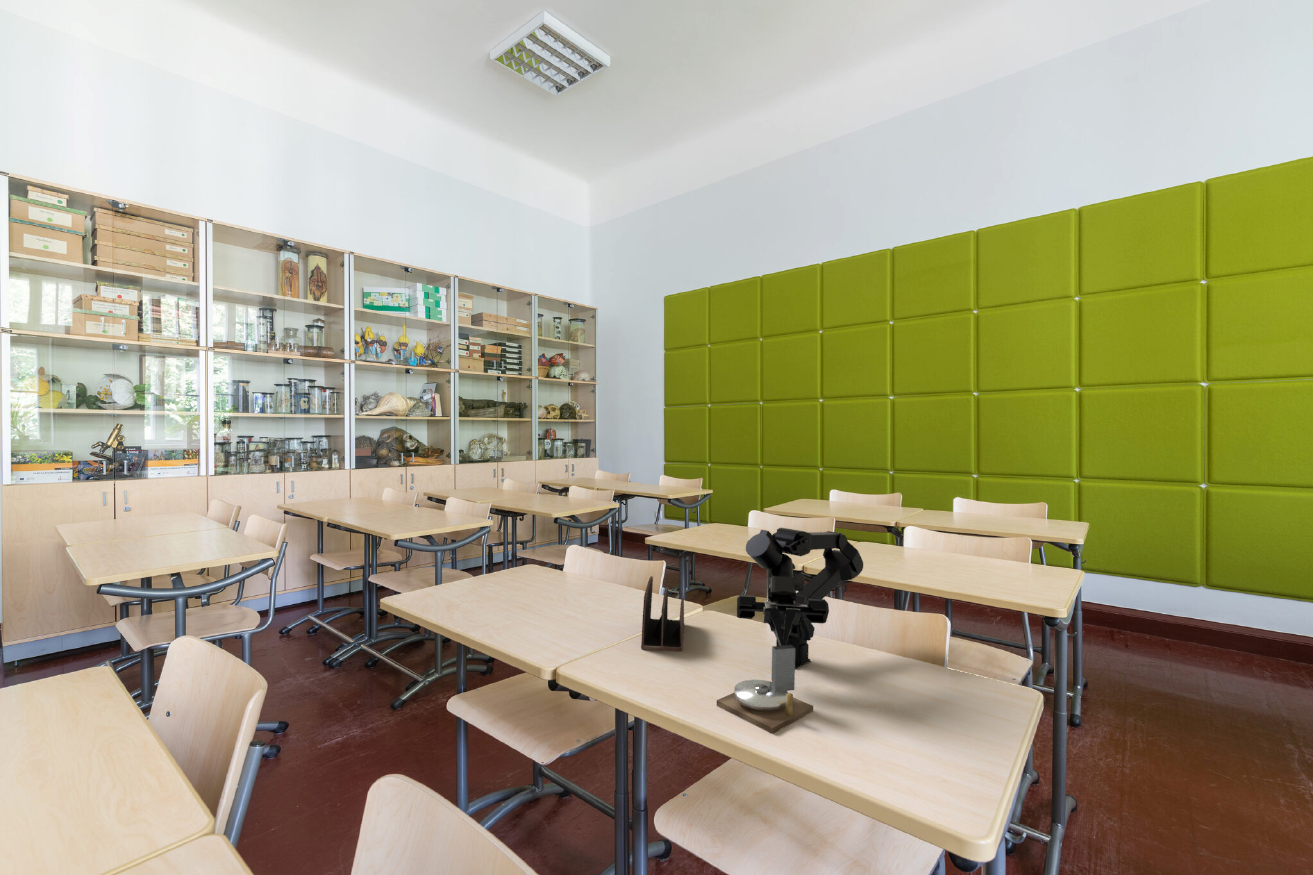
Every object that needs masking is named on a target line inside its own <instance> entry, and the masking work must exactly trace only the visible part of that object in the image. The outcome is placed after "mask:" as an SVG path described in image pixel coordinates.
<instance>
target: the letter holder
mask: <svg viewBox="0 0 1313 875" xmlns="http://www.w3.org/2000/svg"><path fill="white" fill-rule="evenodd" d="M653 581H654V577H653V576H651V575H650V577H649V578H648V581H647V584H646V588H645V591H644V596H643V606H642V607H643V608H642V609H643V610H642V624H641V625H642V626H641V641H640V642H641V645H640V649H641V650H644V651H646V650H647V651H664V652H665V651H667V652H683V644H684V643H683V642H684V629H685V628H684V627H685V603H684V602H685V598H684V596H681V600H680V609H679V610H680V611H679V612H680V613H679V619H669V618H668V609H669V608H668V607H669V606H668V603H669V602H668V601H669V587H665V589H664V593H663V600H662V606H661V614H660V617H659V618H658V619H657V618H652V602H653V601H652V600H653V599H652V598H653V583H654V582H653Z"/></svg>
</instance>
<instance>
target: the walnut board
mask: <svg viewBox="0 0 1313 875" xmlns="http://www.w3.org/2000/svg"><path fill="white" fill-rule="evenodd" d="M716 706H717V707H719V708H721V709H723V710H724V711H726V712H728V713H731V714H733V715H734V716H737V717H738V718H740V719H743V720H744V721H746V722H748V723H750V724H752V725H754V726H756V727H758V728H760V729H762V730H764V731H766V732H768V733H770V734H775V733H776V732H778V731H780V730H782V729H784V728H785V727H788V726H789V725H791V724H793V723H795V722H797V721H799V720H800V719H803V718H804V717H806V716H808V715H809V714H811V713H812V712H814V705H812V704H810V703H808V702H805V701H803V700H801V699H799V698H796V697H794V695H793V693H791V692H788V693H787V694H786V706H785V707H783V708H781V709H778V710H771V711H765V710H756V709H752V708H749V707H746V706H744V705H742V704H740V703H739V702H738V701H737V700H736V699H735V696H734V692H731V694H727V695H725V696H723V697H721V698H718V699H716Z"/></svg>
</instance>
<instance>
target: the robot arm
mask: <svg viewBox="0 0 1313 875" xmlns="http://www.w3.org/2000/svg"><path fill="white" fill-rule="evenodd" d="M813 550H815V551H816V550H823V552H822V556H823V559H824V567H823V568H822V569H821V570H820V571H819V572H818V573H817V574H816V575H814V576H813V578H811V579H810V580H809V581H808V582H807V583H806V582H805V574H802V573H801V574H800V573H799V574H798V573H797V574H796V573H795V574H794V572H793V571H794V570H796V566H795V564H794V562H793V559H792V558H791V557H790V556H789V555H791V556H798V557H803V556H804V557H805V556H806V555H809V554H810V553H811V551H813ZM745 552H746V554H747V555H748V556H749V557H750V558H751V559H752V560H753V561H754V562H755V563H756V564H757V565H759V567H760V568H761V569H763V570H766V587H767V588H766V592H767V595H766V596H767V597H766V598H767V600H765V601H763V602H762V601H757V600H756V599H757V597H756V594H755V595H752V594H739V595H738V596H737V597H736V617H737V618H738V619H743V620H744V619H746V620H747V619H748V620H752V619H753V618H755V616H756V612H759V613H760V612H761V613H763V623H764V624H768V625H769V628H770V632H773V634H774V636H775V638H776V642H775V643H776V645H775V646H785V645H792V646H793V647H794V648H795V669H797V668H800V667H802V666H804V665H806V664H808V663H810V662H811V660H812V659H811V658H809V648H810V647H809V646H810V645H809V643H808V641H811V640H812V638H813V637H814V635H815V634H814V633H815V627H814V624H826V623H827V621H828V620H827V619H828V616H829V613H830V607H829V602H828V601H827V600H826V599H825V597H827V596H828V595H829V594H830V593H831V591H832V590H834V589H835V587H837V586H838V585H839V584H840V583H842V582H847V581H852V580H854V579H855V578H856V577H857V578H858V576H860V574H861V573H862V571H863V569H864V561H863V559H862V556H861V555H860V552H859V550H858V548H856V547H855V546H854V545H853V544H851V543H850V542H849V541H848V539H847V536H846V535H845V534H844V533H842V532H838V531H837V532H836V531H832V530H831V531H829V530H827V531H821V532H820V531H819V532H818V531H817V532H816V531H814V532H811V531H810V532H807V531H804V530H799V529H792V528H786V527H778V528H777V529H776V532H774V533H771V532H770V531H769V530H766V529H760V531H759V533H757V534H755V535H753V536H752V537H750V539H748V540H747V542H746V544H745ZM787 554H788V555H787ZM805 583H806V584H805Z"/></svg>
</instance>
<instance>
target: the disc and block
mask: <svg viewBox="0 0 1313 875" xmlns="http://www.w3.org/2000/svg"><path fill="white" fill-rule="evenodd" d="M771 647H772V648H771V650H772V651H771V681H770V680H764V679H748V680H747V679H746V680H744V681H743V680H742V681H739V682H738V683H736V685H735V686H734V690H733V693H734V696H735V699H736V700H737V701H738V702H739V703H740V704H742V705H744V706H746V707H749V708H752V709H756V710H765V711H771V710H778V709H781V708H783V707H785V706H786V694H787V693H789V691H795V682H796V681H795V680H796V678H795V675H796V674H795V673H796V668H795V648H794V647H793V646H792V645H785V646H776V645H773V646H771Z"/></svg>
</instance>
